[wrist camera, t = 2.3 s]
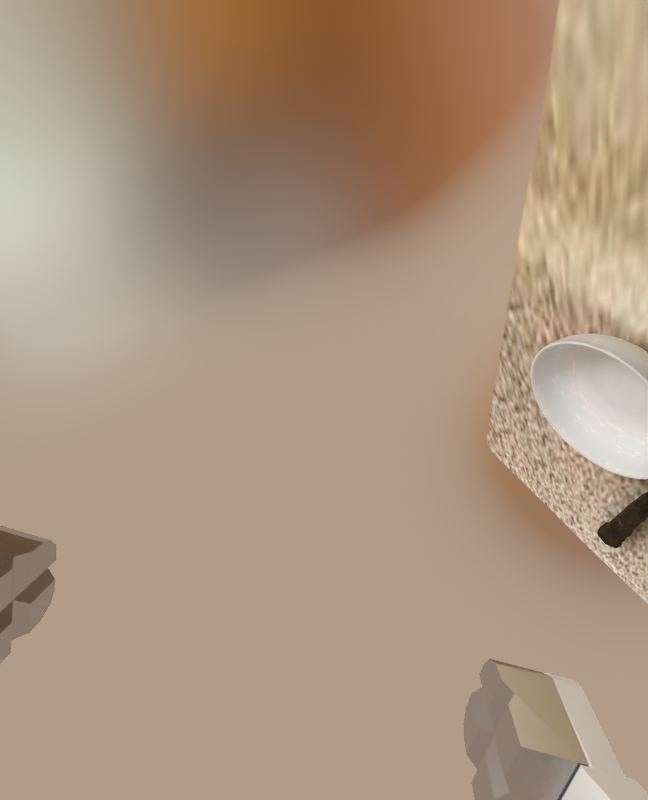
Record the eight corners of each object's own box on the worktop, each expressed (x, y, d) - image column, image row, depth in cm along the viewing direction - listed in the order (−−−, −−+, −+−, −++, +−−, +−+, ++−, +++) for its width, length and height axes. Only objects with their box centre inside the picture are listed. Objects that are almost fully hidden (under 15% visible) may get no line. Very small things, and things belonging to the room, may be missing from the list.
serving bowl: (543, 363, 75) (510, 386, 73) (613, 282, 55) (571, 310, 54) (646, 469, 68) (612, 495, 66) (768, 417, 48) (723, 453, 47)
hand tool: (628, 538, 81) (609, 554, 80) (608, 520, 83) (589, 535, 82) (684, 501, 65) (661, 520, 64) (658, 479, 67) (635, 498, 66)
